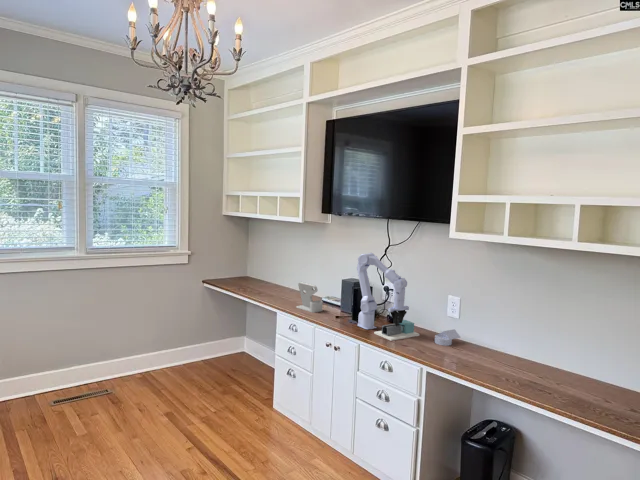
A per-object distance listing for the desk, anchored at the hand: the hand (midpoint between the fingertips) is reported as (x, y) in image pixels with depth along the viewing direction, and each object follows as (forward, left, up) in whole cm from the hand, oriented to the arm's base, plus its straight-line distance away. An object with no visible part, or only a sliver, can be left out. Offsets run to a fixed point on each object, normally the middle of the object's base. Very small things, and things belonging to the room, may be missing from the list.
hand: (397, 323), depth 252 cm
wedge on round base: (+22, +16, -7) cm, 28 cm away
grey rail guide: (0, -4, -6) cm, 7 cm away
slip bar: (0, +3, -5) cm, 6 cm away
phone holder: (-67, -15, -7) cm, 69 cm away
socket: (0, +7, -6) cm, 9 cm away
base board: (0, 0, -7) cm, 7 cm away
